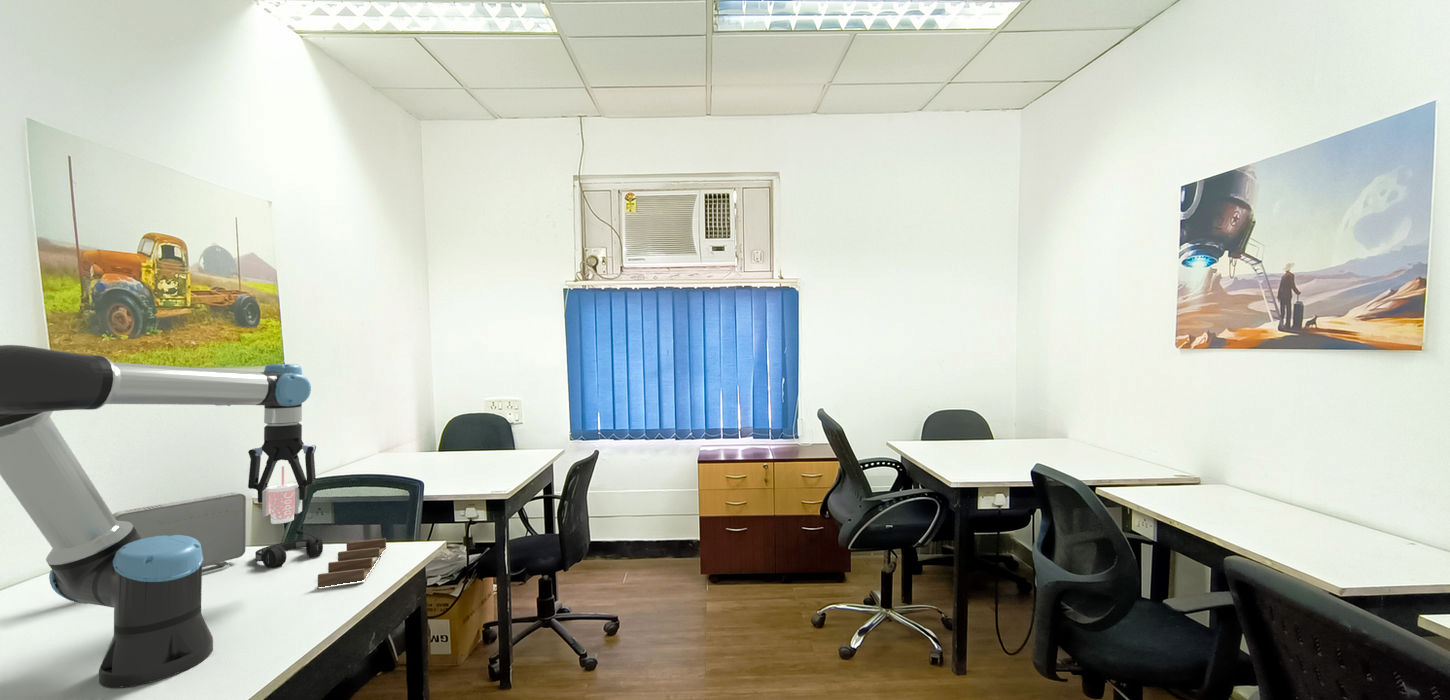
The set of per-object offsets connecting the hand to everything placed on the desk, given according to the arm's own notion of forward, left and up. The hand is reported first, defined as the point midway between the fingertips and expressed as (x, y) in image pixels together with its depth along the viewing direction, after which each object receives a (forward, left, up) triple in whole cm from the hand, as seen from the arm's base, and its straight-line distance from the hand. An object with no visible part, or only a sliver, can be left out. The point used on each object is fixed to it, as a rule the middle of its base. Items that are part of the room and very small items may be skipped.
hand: (282, 513), depth 138 cm
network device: (+18, +28, -19) cm, 38 cm away
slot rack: (+8, -14, -19) cm, 25 cm away
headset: (+24, +6, -19) cm, 31 cm away
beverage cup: (0, 0, -2) cm, 2 cm away
